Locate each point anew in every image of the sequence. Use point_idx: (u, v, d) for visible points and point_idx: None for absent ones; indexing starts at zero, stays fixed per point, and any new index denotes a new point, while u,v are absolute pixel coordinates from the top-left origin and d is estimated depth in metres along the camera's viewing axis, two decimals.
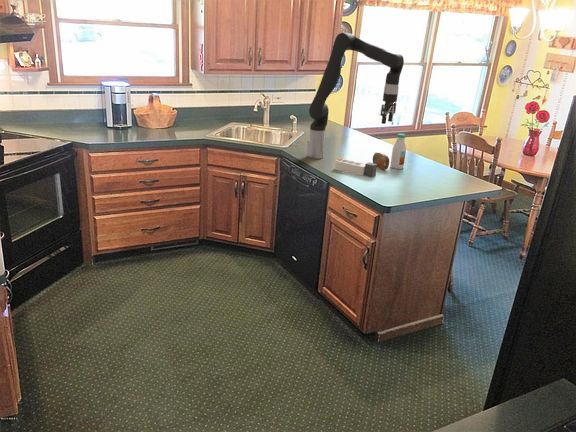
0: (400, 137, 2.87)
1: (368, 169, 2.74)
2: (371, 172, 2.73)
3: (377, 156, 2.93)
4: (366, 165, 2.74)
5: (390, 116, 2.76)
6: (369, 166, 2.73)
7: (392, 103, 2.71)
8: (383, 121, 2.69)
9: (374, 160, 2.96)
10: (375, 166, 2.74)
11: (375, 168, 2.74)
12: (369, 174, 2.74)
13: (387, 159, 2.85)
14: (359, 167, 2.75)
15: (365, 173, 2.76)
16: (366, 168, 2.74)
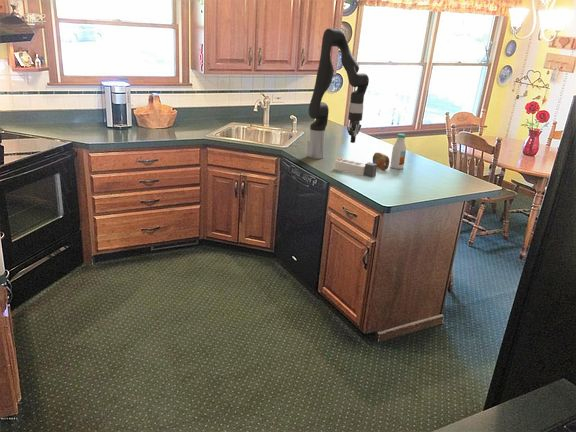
0: (400, 137, 2.87)
1: (368, 169, 2.74)
2: (371, 172, 2.73)
3: (377, 156, 2.93)
4: (366, 165, 2.74)
5: None
6: (369, 166, 2.73)
7: (358, 121, 2.74)
8: (352, 140, 2.76)
9: (374, 160, 2.96)
10: (375, 166, 2.74)
11: (375, 168, 2.74)
12: (369, 174, 2.74)
13: (387, 159, 2.85)
14: (359, 167, 2.75)
15: (365, 173, 2.76)
16: (366, 168, 2.74)
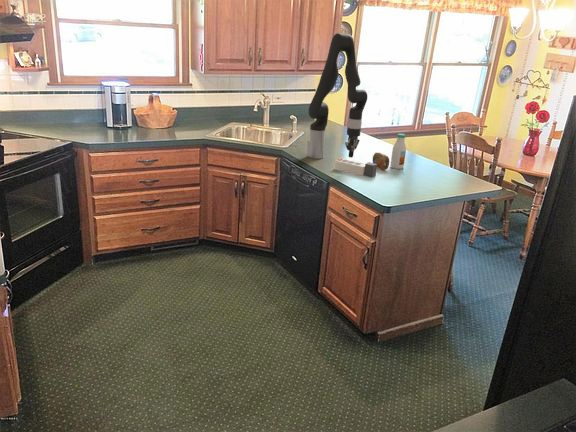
0: (400, 137, 2.87)
1: (368, 169, 2.74)
2: (371, 172, 2.73)
3: (377, 156, 2.93)
4: (366, 165, 2.74)
5: None
6: (369, 166, 2.73)
7: (356, 137, 2.77)
8: (350, 155, 2.79)
9: (374, 160, 2.96)
10: (375, 166, 2.74)
11: (375, 168, 2.74)
12: (369, 174, 2.74)
13: (387, 159, 2.85)
14: (359, 167, 2.75)
15: (365, 173, 2.76)
16: (366, 168, 2.74)
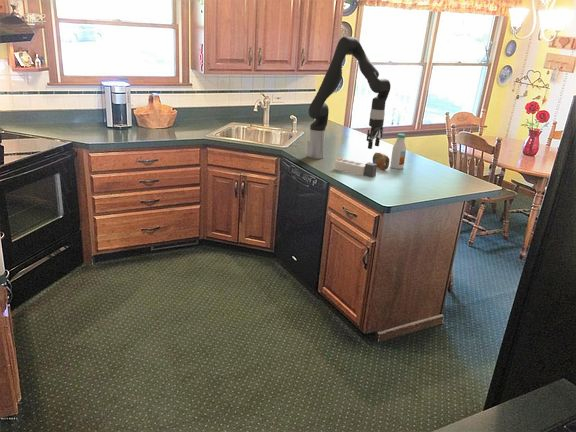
0: (400, 137, 2.87)
1: (368, 169, 2.74)
2: (371, 172, 2.73)
3: (377, 156, 2.93)
4: (366, 165, 2.74)
5: (377, 141, 2.73)
6: (369, 166, 2.73)
7: (378, 128, 2.68)
8: (369, 146, 2.67)
9: (374, 160, 2.96)
10: (375, 166, 2.74)
11: (375, 168, 2.74)
12: (369, 174, 2.74)
13: (387, 159, 2.85)
14: (359, 167, 2.75)
15: (365, 173, 2.76)
16: (366, 168, 2.74)
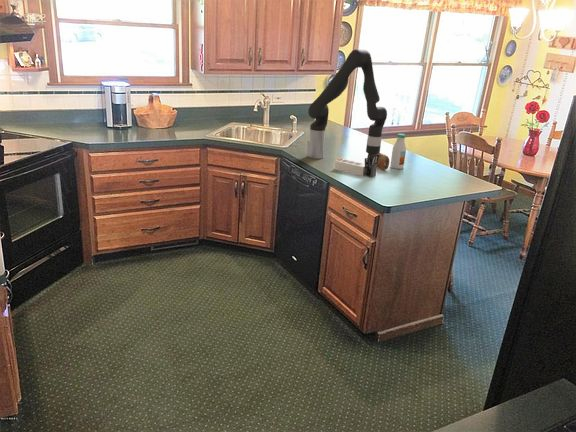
0: (400, 137, 2.87)
1: None
2: (371, 172, 2.73)
3: None
4: None
5: None
6: None
7: (375, 154, 2.73)
8: (368, 173, 2.73)
9: None
10: (375, 166, 2.74)
11: (375, 168, 2.74)
12: None
13: (387, 159, 2.85)
14: (359, 167, 2.75)
15: (365, 173, 2.76)
16: (366, 168, 2.74)
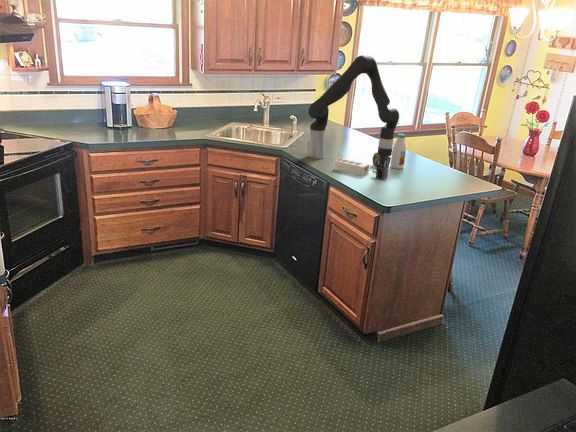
0: (400, 137, 2.87)
1: None
2: (383, 175, 2.70)
3: (377, 156, 2.93)
4: None
5: None
6: None
7: (387, 156, 2.69)
8: None
9: (374, 160, 2.96)
10: (387, 169, 2.70)
11: (387, 171, 2.71)
12: None
13: None
14: (359, 167, 2.75)
15: (376, 176, 2.72)
16: (377, 171, 2.71)
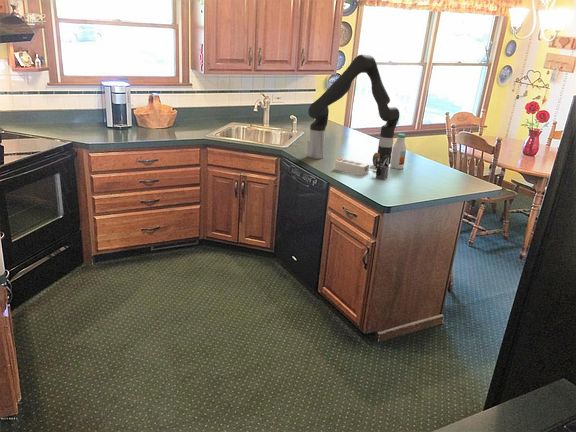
0: (400, 137, 2.87)
1: None
2: (383, 175, 2.70)
3: (377, 156, 2.93)
4: None
5: None
6: None
7: (387, 155, 2.69)
8: (378, 173, 2.68)
9: (374, 160, 2.96)
10: (387, 169, 2.70)
11: (387, 171, 2.71)
12: (381, 177, 2.71)
13: None
14: (359, 167, 2.75)
15: (376, 176, 2.72)
16: None
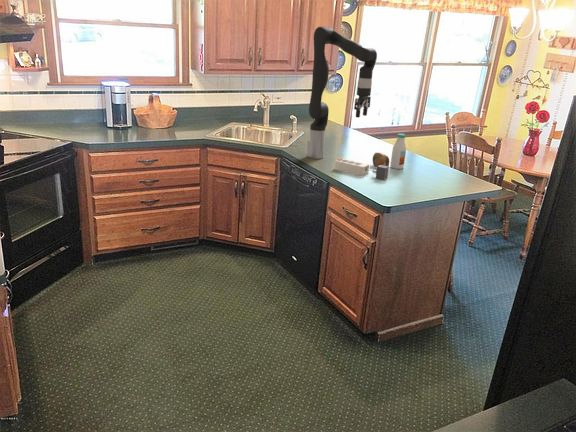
0: (400, 137, 2.87)
1: (379, 172, 2.70)
2: (383, 175, 2.70)
3: (377, 156, 2.93)
4: (378, 168, 2.70)
5: (365, 110, 2.80)
6: (380, 168, 2.69)
7: (366, 97, 2.75)
8: (357, 115, 2.73)
9: (374, 160, 2.96)
10: (387, 169, 2.70)
11: (387, 171, 2.71)
12: (381, 177, 2.71)
13: (387, 159, 2.85)
14: (359, 167, 2.75)
15: (376, 176, 2.72)
16: (378, 171, 2.71)
